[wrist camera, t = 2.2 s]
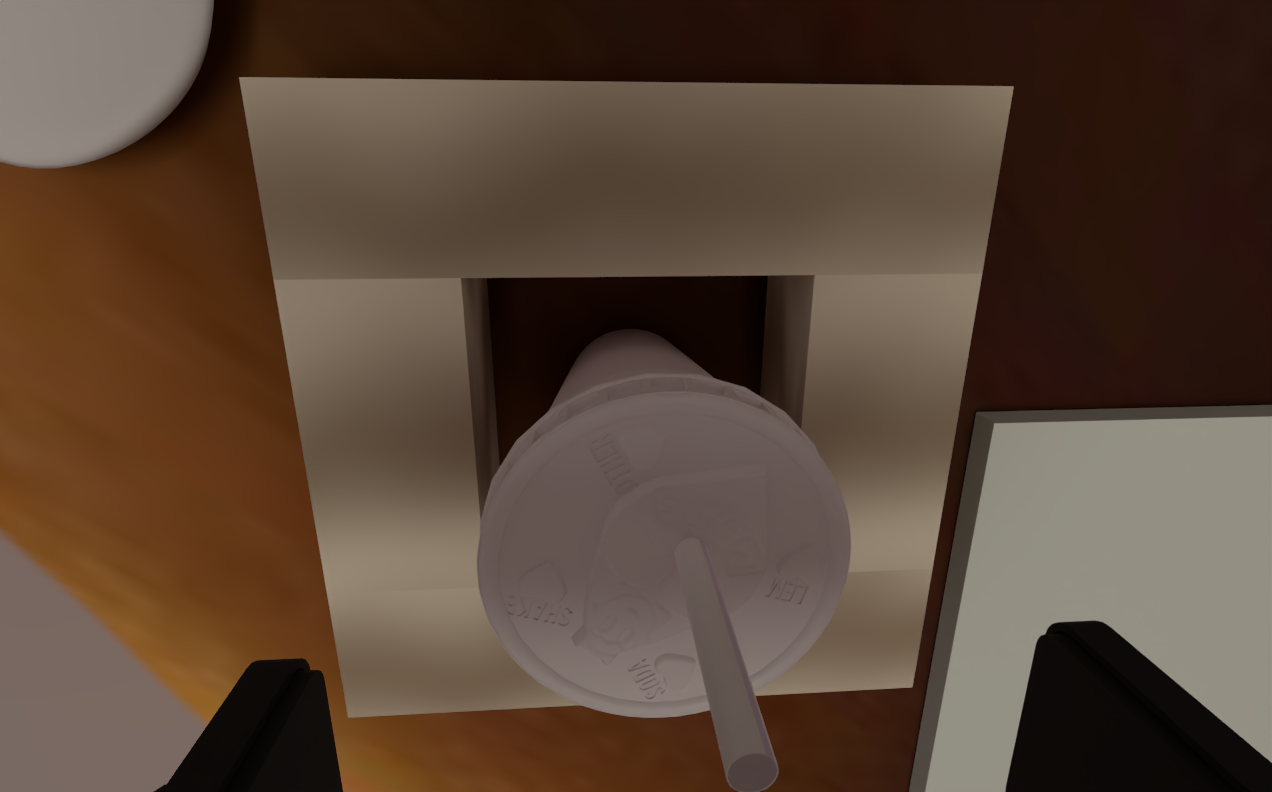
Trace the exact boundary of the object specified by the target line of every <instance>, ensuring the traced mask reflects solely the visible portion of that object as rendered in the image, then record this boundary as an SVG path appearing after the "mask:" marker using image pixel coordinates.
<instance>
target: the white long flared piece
mask: <svg viewBox="0 0 1272 792" xmlns="http://www.w3.org/2000/svg"><path fill="white" fill-rule="evenodd" d="M213 8H214V0H0V162H2V163H6V164H10V165H14V166H20V167H28V168H62V167H69V166H76V165H80V164H84V163H87V162H91V161H95V160H98V159H101V158H104V157H106V156H109V155H111V154H114V153H116V152H119V151H120V150H122V149H124V148H126V147H128V146H129V145H131V144H133V143H135V142H137V141H138V140H139V139H141V138H142V137H144V136H145V135H147V134H148V133H149V132H151V131H152V130H153V129H155V128H156V127H157V126H158V125H159V124H160V123H161V122H162V121H163V120H164V119H165V118H167V117H168V116H169V115H170V114H171V113H172V111H173V110H174V109H175V108H176V107H177V106H178V104H179V103H180V102H181V100H182V99H183V98H184V96H185V95H186V93H187V92H188V91H189V89H190V88H191V86H192V84H193V82H194V81H195V79H196V77H197V75H198V73H199V71H200V69H201V66H202V63H203V60H204V58H205V55H206V52H207V48H208V43H209V38H210V34H211V26H212V17H213Z"/></svg>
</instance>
